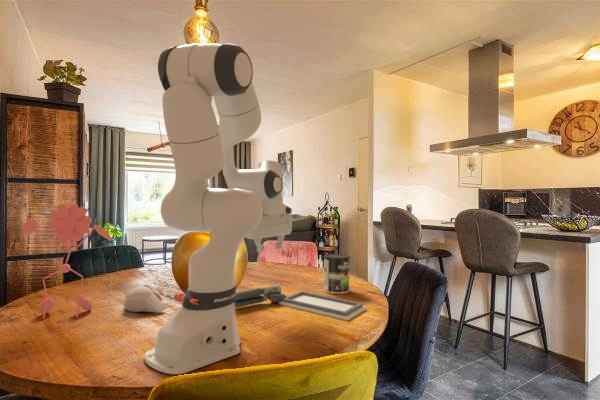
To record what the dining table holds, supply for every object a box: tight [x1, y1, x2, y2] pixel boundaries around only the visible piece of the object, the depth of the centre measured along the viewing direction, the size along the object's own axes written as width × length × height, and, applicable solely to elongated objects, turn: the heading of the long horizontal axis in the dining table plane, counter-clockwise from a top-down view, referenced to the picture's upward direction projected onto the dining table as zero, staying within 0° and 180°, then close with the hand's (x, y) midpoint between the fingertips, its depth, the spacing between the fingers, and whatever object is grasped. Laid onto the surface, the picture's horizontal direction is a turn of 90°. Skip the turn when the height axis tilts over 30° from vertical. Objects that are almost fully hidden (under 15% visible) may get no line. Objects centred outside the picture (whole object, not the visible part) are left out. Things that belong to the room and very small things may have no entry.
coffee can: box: [323, 253, 350, 295], centre depth 134 cm, size 10×10×14 cm
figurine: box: [21, 203, 112, 319], centre depth 107 cm, size 15×26×35 cm, turn 100°
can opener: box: [234, 284, 287, 308], centre depth 115 cm, size 19×6×5 cm, turn 124°
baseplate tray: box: [278, 290, 367, 322], centre depth 114 cm, size 13×27×2 cm, turn 54°
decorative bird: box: [123, 286, 167, 314], centre depth 108 cm, size 9×16×8 cm, turn 58°
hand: (269, 250), depth 113 cm, fingers open, 8 cm apart
